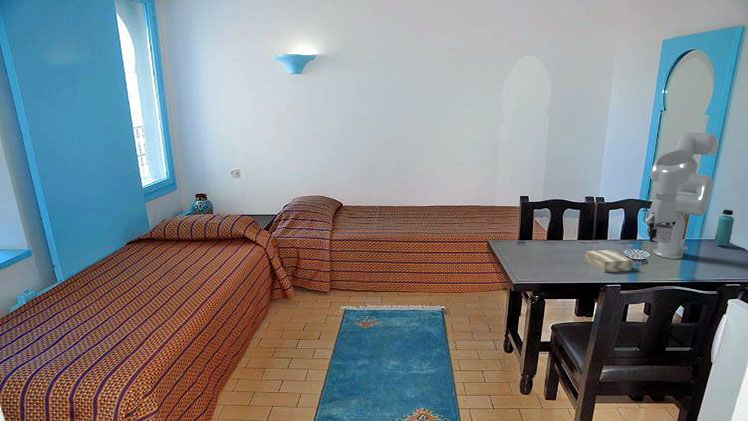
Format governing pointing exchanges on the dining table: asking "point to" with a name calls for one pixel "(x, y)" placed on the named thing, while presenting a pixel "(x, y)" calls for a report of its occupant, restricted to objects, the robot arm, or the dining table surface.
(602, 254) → the base block
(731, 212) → the beverage bottle
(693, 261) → the dining table surface
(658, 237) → the mug
